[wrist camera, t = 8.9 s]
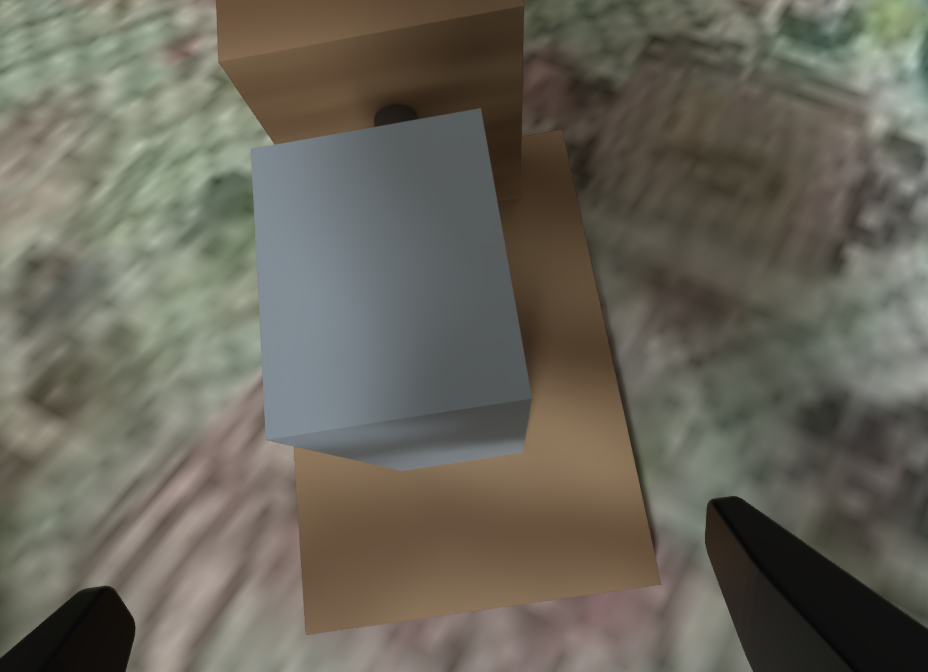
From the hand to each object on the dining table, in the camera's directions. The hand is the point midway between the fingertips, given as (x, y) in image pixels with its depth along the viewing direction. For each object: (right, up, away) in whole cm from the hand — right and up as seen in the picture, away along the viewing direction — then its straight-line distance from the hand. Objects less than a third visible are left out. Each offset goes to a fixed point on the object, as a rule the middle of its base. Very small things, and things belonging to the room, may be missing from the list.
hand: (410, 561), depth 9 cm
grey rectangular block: (0, +2, +11) cm, 11 cm away
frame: (0, +1, +12) cm, 12 cm away
